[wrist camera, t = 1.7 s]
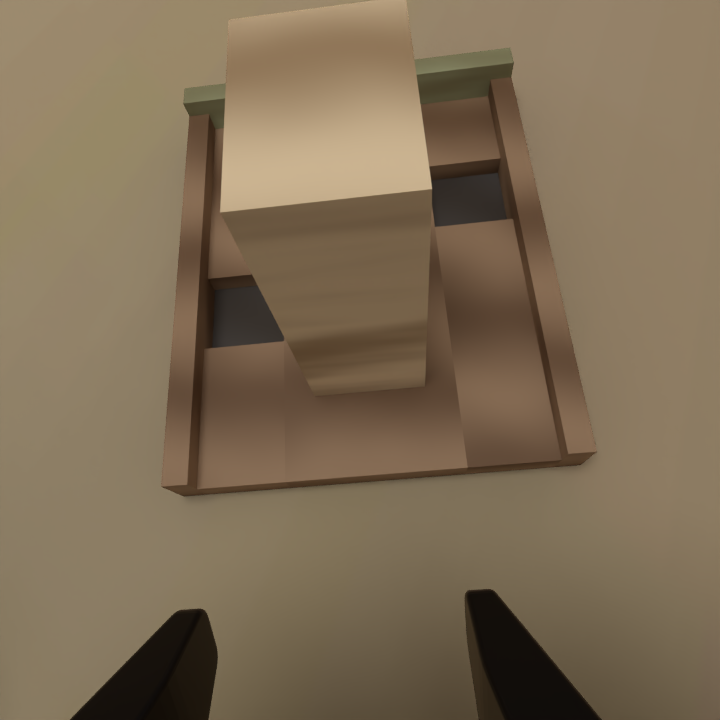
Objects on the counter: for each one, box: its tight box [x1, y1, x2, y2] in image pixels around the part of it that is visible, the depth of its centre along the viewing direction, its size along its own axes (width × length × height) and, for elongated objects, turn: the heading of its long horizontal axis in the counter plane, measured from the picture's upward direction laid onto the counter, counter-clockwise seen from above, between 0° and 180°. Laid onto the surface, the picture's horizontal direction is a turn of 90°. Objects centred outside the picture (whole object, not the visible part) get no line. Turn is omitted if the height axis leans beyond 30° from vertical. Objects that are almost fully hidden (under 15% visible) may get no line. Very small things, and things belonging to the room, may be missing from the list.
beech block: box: [220, 0, 432, 396], centre depth 19 cm, size 6×4×12 cm
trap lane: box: [161, 48, 597, 496], centre depth 25 cm, size 20×16×3 cm
